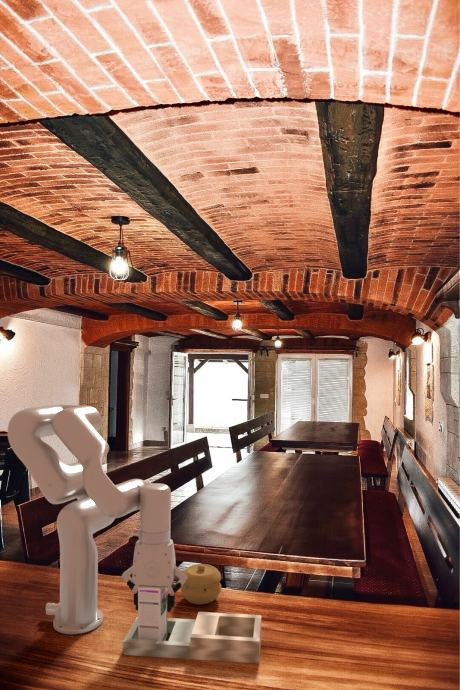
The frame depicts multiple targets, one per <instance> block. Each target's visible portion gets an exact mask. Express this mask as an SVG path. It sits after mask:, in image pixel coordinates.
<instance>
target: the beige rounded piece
mask: <svg viewBox="0 0 460 690" xmlns="http://www.w3.org/2000/svg"><path fill="white" fill-rule="evenodd" d="M182 572H183V573H184V574H185V575H187V577H188V578H187V580H186V582H185V583H184V584H183V585H182V586H181V588H180V592H181V594H182V596H183V598H184V599H185V600H186V601H188V602H189V603H191V604H193V605H206V604H207V605H208V604H210V603H212V602H213V601H215V600H217V598H218V596H219V595H220V593H221V591H222V584H221V583H220V582H221V580H222V574H221V572H220V571H219V570H218V568H217V567H215V566H213V565H211V564H207V563H197V564H192V565H190V566H188V567H187V568H185V570H183V571H182Z"/></svg>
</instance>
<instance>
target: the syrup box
mask: <svg viewBox="0 0 460 690" xmlns="http://www.w3.org/2000/svg"><path fill="white" fill-rule="evenodd" d="M167 596H168V590H167V588H166V587H158V586H141V585H140V586H139V587H138V610H137V616H138V638H137V639H144V640H160V641H167V640H166V639H167V638H168V633H167V618H168V611H167Z"/></svg>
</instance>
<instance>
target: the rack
mask: <svg viewBox="0 0 460 690" xmlns="http://www.w3.org/2000/svg"><path fill="white" fill-rule="evenodd" d="M167 634H170V636H169V638H168V640H165V641H160V640H144V639H138V615H137V616H136V618H135V619H134V621H133V623H132V625H131V627H130V628H129V630H128V632H127V634H126V636H125V637H124V639H123V641H122V655H123V654H124V656H135V657H137V656H138V657H139V656H140V657H150V658H151V657H152V658H153V657H155V658H165V659H166V658H169V659H182V660H183V659H185V660H198V661H199V660H200V661H212V662H213V661H215V662H230V663H246V664H256V665H257V664H260V661H261V660H260V656H261V645H262V615H261V614H248V613H247V614H245V613H244V614H243V613H242V614H241V613H229V612H228V613H226V612H209V611H198V613H197V616H196V618H194V619H193V618H192V619H191V618H175V617H174V618H173V617H167Z"/></svg>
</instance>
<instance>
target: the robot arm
mask: <svg viewBox="0 0 460 690" xmlns="http://www.w3.org/2000/svg"><path fill="white" fill-rule="evenodd" d="M102 424H103V418H102V416H101V414H100V411H98V410H97V409H96V408H95V407H93V406H91V405H79V404H78V405H72V404H53V405H44V406H37V407H35V406H33V407H29V408H24V409H21V410H19V411H17V412H16V413H15V414H13V415H12V416H11V418H10V420H9V421H8V425H7V440H8V442H9V446H10V447H11V449H12V450H13V452H14V454H15V455H16V457H17V458H18V459H19V460H20V461H21V462H22V464H23V465H24V467H25V468H26V469H27V470H28V472H29V474H30V476H31V478H32V479H33V481H34V482H35V484H36V485H37V487H38V488H39V491H40V492H41V493H42V494H43V496H44V498H45V500H47V502H48V503H50V504H52V505H60V504H64V503H67V502H69V501H72V500H75V499H77V500H75V501H72V502H70V503H68V504H67V505H65V506H64V507H63V508H62V509H61V510H60V511H59V513H58V515H57V518H56V528H57V529H56V530H57V534H58V535H57V536H58V540H59V554H60V555H59V564H60V567H59V602H58V603H54V602H53V603H51V602H47V603H46V604H45V611H46V612H45V614H46V615H47V616H54V618H53V623H52V626H53V629H54V630H55V631H57V632H58V633H61V634H64V635H79V634H86V633H88V632H90V631H93V630H95V629H96V628H98V627H99V626H100V625H102V623H103V620H104V613H103V611H102V610H100V609H99V608H98V580H99V579H98V578H99V577H98V574H99V572H98V571H99V570H98V569H99V568H98V567H99V564H98V563H99V562H98V561H99V556H98V555H99V554H98V553H99V552H98V547H97V544H96V543H95V540H94V536H93V535H94V534H95V533H97V532H98V531H101V530H102V529H104V528H107V527H108V526H110V525H111V524H112V523H113V522H114V521H115V519H119V518H121V517H124V516H126V515H128V514H131V513H132V512H135V511H138V510H139V529H134V531H133V536H134V537H138V540H137V541H136V542H135V546H134V551H133V558H132V559H133V560H132V566H131V567H129V568H128V569H127V570H125V571H124V572H123V573H122V574H121V578H122V579H123V581H124V582H125V583H126V586H127V587H129V589H130V590H131V593H132V594H133V605H134V606H135V611H138V587H139V586H140V585H141V586H158V587H166V588H167V613H171V611H172V609H173V608H174V607H175V602H176V593H177V592H178V591H179V590H181V586H182V585H183V584H184V583H185V582H186V580H187V578H188V577H187V575H185V574H184V573H183V572H184V571H182V570H181V569H180V568H179V567H178V566H177V564H176V563H177V562H176V552H175V551H176V550H175V546H174V540H173V539H171V519H172V518H171V513H172V512H171V509H172V508H171V505H172V503H171V502H172V498H171V497H172V491H171V490H172V489H171V488H170V486H168V485H167V484H165V483H159V482H157V483H155V482H154V483H152V482H150V481H146V480H145V479H144V480H143V479H141V478H132V479H128V480H126V481H123V482H121V483H118V484H114V483H113V481H112V480H111V479H110V478H109V476H108V475H107V474H106V472H105V469H104V468H103V461H104V458H106V456H107V455H108V453H109V451H110V446H109V444H108V442H107V441H106V440H105V439H104V438H103V436H102V435H101V434H100V433H99V431H100V430H101V428H102ZM49 436H57V437H58V438H59V440H60V441H61V442H62V443H63V445H64V446H65V447H66V449H67V450H68V451H69V452H70V453H71V454H72V456H73V457H74V458H75V460H76V461H77V462H72V463H69V464H66V463H65V462H64V461H63V459H62V458H61V457H60V456H59V454H58V452H57V450H55V449H54V447H52V446H51V445H50V444H49V443H47V442H45V441H43V440H42V439H41V438H44V437H49ZM176 577H177V578H178V579H179V580H178V581H177V582H176V583H175V582H174V580H175V579H176Z"/></svg>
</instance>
